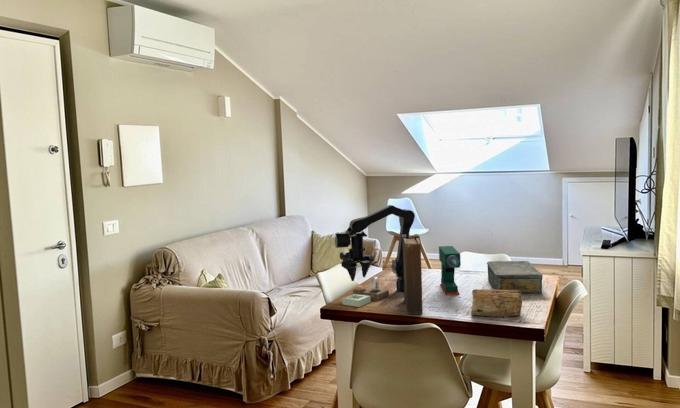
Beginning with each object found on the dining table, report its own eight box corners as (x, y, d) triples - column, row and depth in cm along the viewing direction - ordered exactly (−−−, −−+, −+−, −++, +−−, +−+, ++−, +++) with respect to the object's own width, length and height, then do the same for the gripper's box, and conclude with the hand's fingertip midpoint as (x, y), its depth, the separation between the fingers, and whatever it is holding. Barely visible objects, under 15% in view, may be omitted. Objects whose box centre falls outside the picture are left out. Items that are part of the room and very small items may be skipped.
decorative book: (404, 300, 246) (401, 234, 244) (420, 300, 246) (417, 234, 244) (406, 315, 223) (404, 242, 221) (424, 315, 223) (421, 242, 220)
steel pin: (380, 296, 254) (379, 277, 253) (376, 298, 251) (375, 278, 250) (374, 295, 256) (373, 276, 255) (370, 297, 253) (369, 278, 252)
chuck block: (388, 296, 254) (388, 290, 254) (378, 301, 247) (378, 294, 247) (372, 294, 260) (372, 288, 259) (362, 299, 253) (361, 292, 252)
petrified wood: (520, 309, 224) (520, 286, 221) (522, 325, 212) (523, 301, 209) (471, 306, 229) (471, 284, 226) (470, 322, 217) (470, 299, 214)
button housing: (366, 295, 259) (365, 288, 259) (360, 297, 256) (360, 290, 256) (358, 294, 262) (358, 287, 262) (353, 296, 258) (352, 289, 258)
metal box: (529, 279, 278) (528, 260, 277) (544, 295, 246) (544, 273, 245) (486, 280, 281) (485, 261, 280) (495, 296, 249) (495, 274, 248)
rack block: (370, 303, 245) (370, 295, 245) (359, 307, 238) (358, 300, 238) (354, 300, 250) (354, 293, 250) (342, 305, 243) (342, 298, 243)
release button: (363, 293, 259) (363, 286, 259) (360, 295, 257) (360, 287, 256) (358, 293, 261) (358, 285, 261) (355, 294, 259) (354, 286, 258)
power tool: (465, 302, 239) (464, 257, 238) (449, 302, 239) (448, 257, 238) (454, 285, 271) (453, 245, 269) (439, 286, 271) (438, 246, 270)
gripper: (354, 242, 269) (356, 273, 270) (331, 248, 254) (332, 281, 256) (373, 243, 263) (374, 275, 264) (350, 249, 248) (352, 283, 249)
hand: (358, 279), depth 258 cm, fingers open, 9 cm apart
